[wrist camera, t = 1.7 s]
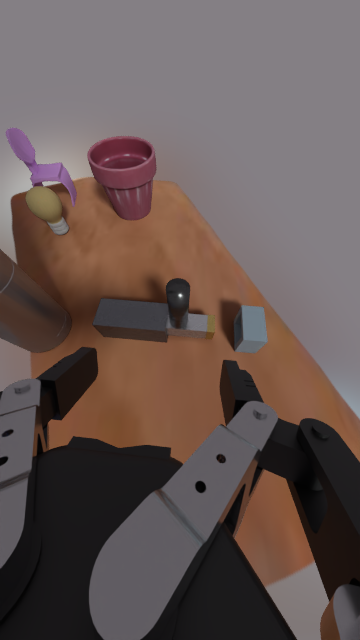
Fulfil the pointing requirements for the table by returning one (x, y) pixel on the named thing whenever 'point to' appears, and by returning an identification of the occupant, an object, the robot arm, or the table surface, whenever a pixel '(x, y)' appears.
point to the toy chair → (39, 171)
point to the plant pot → (125, 173)
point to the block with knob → (185, 313)
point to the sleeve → (132, 320)
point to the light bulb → (47, 208)
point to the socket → (249, 329)
